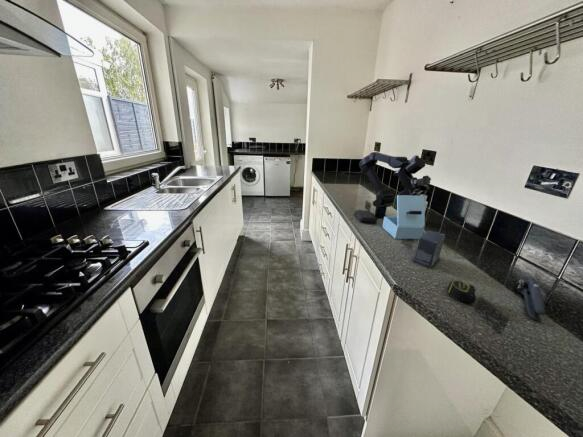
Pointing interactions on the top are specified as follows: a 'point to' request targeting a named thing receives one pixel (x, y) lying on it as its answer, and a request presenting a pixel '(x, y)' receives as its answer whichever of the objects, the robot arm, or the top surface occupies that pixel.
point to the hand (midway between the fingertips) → (423, 206)
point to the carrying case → (365, 216)
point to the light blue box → (401, 229)
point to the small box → (429, 248)
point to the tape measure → (462, 291)
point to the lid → (410, 211)
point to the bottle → (424, 200)
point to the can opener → (532, 297)
